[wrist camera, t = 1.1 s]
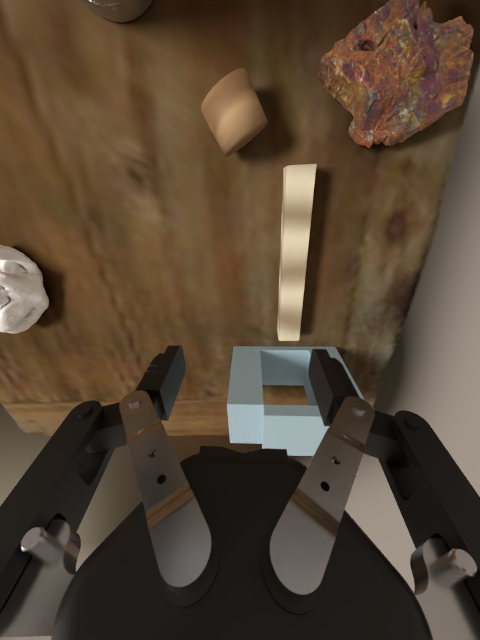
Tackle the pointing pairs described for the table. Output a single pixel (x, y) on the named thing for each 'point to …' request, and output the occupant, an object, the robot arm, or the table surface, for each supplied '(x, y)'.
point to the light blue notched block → (275, 420)
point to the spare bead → (233, 111)
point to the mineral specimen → (398, 71)
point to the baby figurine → (20, 291)
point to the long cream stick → (294, 247)
